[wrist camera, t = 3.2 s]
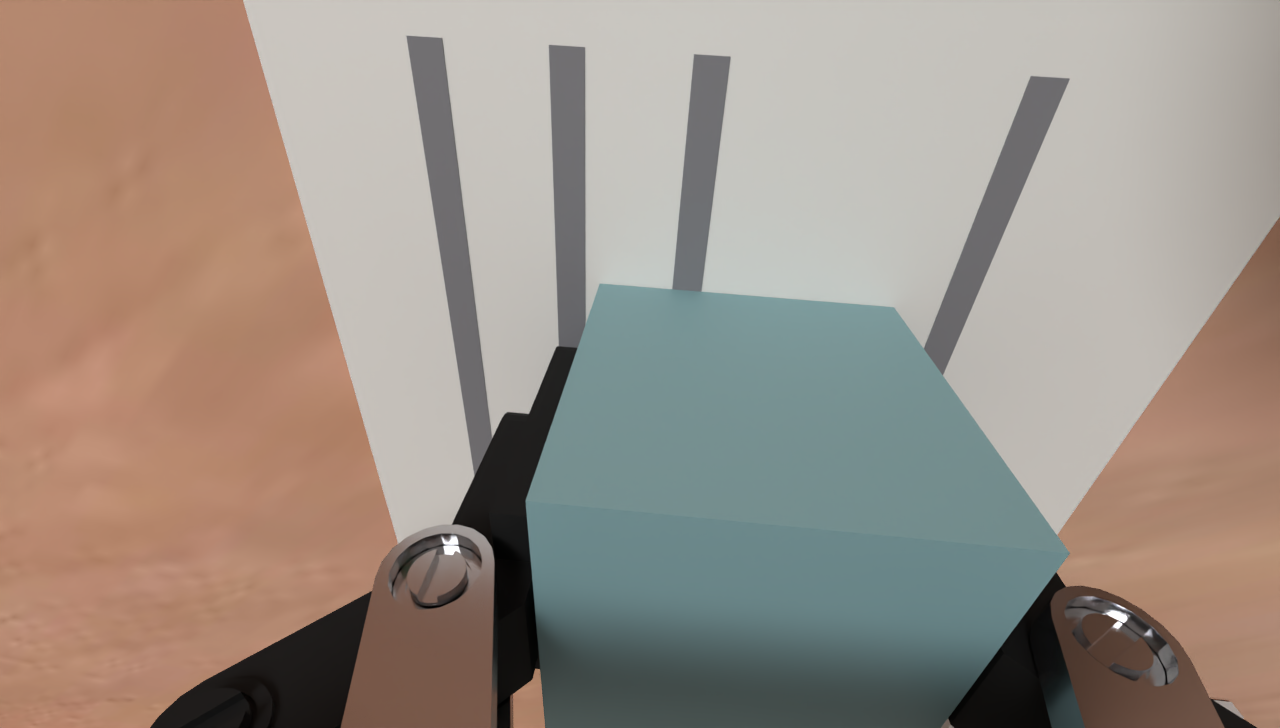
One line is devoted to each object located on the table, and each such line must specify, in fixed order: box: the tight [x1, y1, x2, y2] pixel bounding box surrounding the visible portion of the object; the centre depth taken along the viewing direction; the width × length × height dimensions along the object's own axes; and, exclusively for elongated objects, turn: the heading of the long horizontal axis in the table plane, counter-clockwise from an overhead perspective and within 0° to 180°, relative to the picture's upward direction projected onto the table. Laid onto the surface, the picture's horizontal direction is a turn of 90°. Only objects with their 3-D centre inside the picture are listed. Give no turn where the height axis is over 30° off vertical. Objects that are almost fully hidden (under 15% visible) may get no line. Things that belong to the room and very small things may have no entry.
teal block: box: [526, 284, 1070, 728], centre depth 8 cm, size 5×5×5 cm
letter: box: [243, 0, 1280, 544], centre depth 11 cm, size 15×18×1 cm
